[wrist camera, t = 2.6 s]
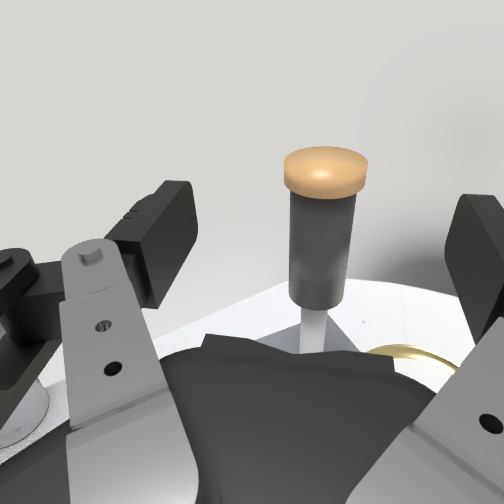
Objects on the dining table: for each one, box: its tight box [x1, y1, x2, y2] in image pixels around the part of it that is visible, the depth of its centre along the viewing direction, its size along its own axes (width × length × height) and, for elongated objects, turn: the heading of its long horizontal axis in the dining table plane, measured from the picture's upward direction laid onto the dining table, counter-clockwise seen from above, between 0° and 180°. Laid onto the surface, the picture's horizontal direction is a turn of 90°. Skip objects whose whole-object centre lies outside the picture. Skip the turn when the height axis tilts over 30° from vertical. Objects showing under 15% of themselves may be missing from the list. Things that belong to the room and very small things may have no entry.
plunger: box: [284, 147, 368, 354], centre depth 30 cm, size 5×5×27 cm
